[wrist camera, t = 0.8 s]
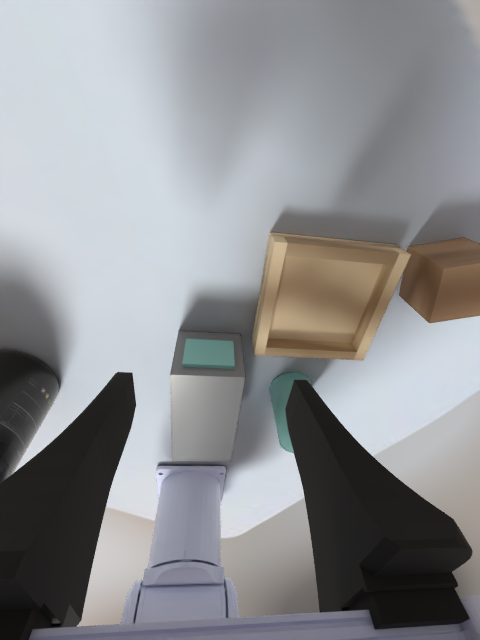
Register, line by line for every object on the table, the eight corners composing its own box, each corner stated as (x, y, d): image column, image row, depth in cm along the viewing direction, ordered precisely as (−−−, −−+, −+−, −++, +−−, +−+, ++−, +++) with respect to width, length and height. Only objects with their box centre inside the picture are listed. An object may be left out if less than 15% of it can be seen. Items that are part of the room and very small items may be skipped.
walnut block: (449, 286, 23) (489, 314, 19) (398, 295, 23) (429, 323, 19) (464, 237, 20) (511, 257, 17) (407, 246, 21) (444, 268, 17)
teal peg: (305, 402, 29) (321, 453, 24) (266, 401, 28) (275, 453, 24) (315, 372, 27) (335, 423, 22) (273, 371, 26) (285, 422, 22)
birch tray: (353, 345, 25) (362, 360, 23) (251, 339, 24) (254, 355, 22) (395, 244, 20) (411, 254, 19) (269, 232, 19) (274, 241, 18)
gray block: (231, 413, 29) (233, 461, 25) (178, 412, 29) (172, 461, 24) (243, 331, 24) (248, 374, 19) (178, 327, 23) (170, 371, 19)
